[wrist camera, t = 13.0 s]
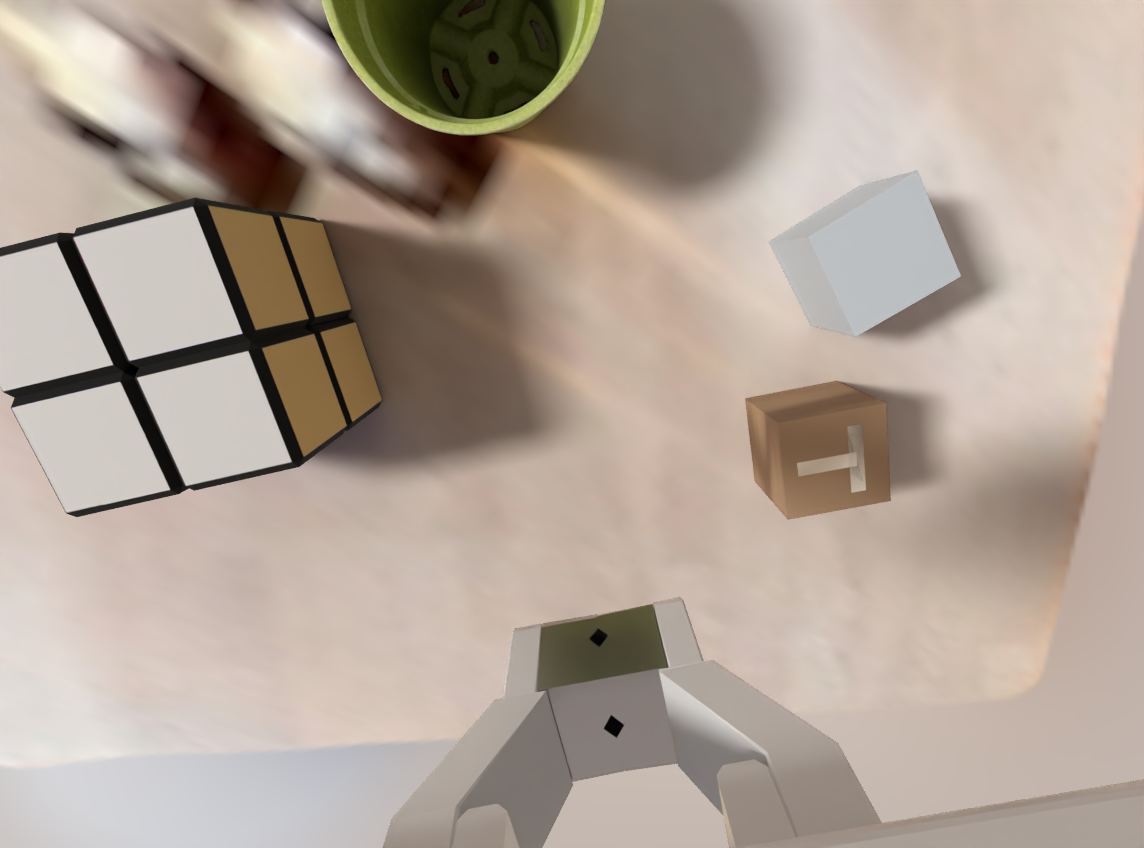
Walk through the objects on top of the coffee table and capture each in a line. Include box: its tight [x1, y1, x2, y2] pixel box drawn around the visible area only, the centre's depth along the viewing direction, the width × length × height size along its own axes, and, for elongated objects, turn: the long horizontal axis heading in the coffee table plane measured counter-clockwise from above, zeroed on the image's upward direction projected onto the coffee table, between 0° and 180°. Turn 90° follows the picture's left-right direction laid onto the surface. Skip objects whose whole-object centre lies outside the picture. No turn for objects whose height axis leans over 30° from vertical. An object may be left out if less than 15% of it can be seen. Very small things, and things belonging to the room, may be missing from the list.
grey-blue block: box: [769, 171, 961, 337], centre depth 27 cm, size 5×5×5 cm
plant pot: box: [322, 0, 605, 135], centre depth 22 cm, size 9×9×9 cm
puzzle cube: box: [0, 198, 382, 517], centre depth 25 cm, size 10×10×10 cm
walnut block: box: [745, 381, 891, 519], centre depth 29 cm, size 5×5×5 cm
